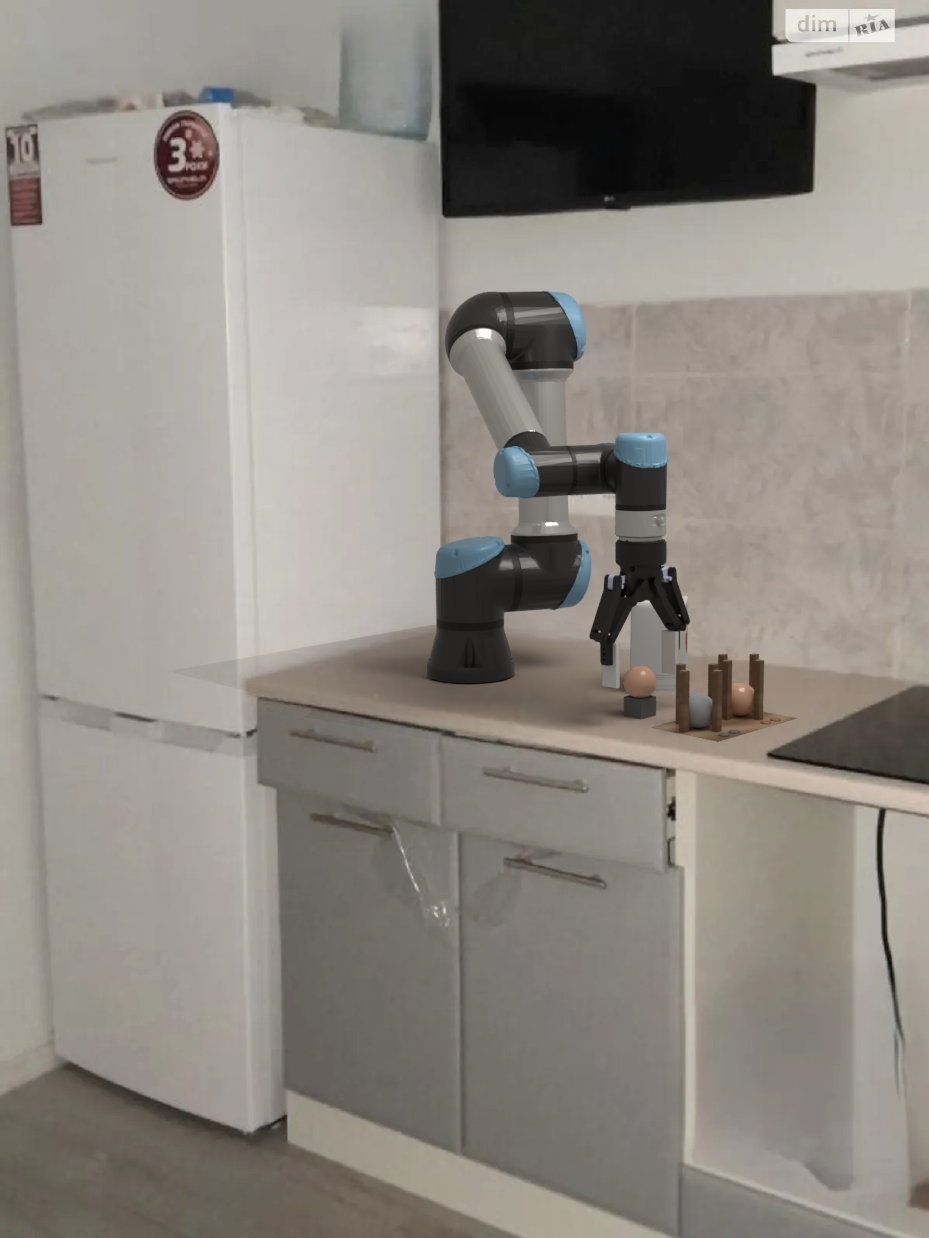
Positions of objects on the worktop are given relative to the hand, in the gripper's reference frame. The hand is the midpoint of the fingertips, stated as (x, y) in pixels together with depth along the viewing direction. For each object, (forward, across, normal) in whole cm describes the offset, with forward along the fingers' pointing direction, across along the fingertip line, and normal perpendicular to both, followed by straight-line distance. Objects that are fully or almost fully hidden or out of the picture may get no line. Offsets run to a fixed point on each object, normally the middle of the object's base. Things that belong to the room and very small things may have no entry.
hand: (641, 680), depth 227 cm
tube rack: (+6, +5, -12) cm, 14 cm away
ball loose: (0, 0, 0) cm, 1 cm away
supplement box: (+6, +19, +12) cm, 23 cm away
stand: (+6, 0, 0) cm, 6 cm away
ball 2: (+6, +10, -11) cm, 16 cm away
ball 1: (+6, 0, -11) cm, 12 cm away
